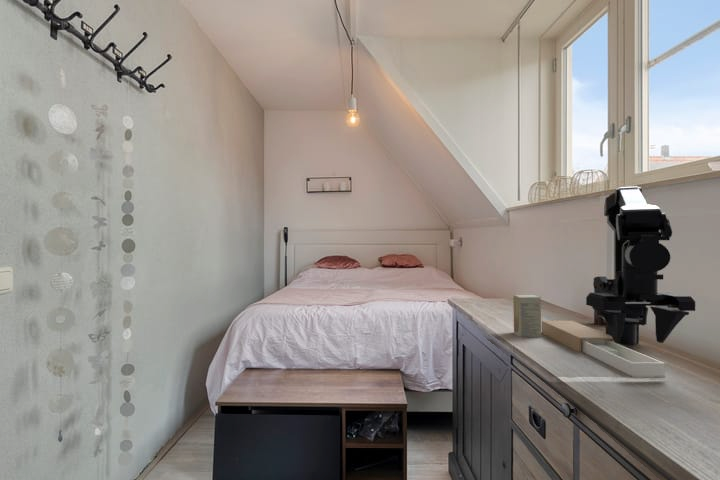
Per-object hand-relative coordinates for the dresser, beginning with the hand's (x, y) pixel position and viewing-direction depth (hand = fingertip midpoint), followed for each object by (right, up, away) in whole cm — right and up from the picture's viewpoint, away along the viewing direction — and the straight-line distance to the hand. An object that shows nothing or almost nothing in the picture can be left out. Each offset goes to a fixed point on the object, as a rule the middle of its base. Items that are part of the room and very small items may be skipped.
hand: (638, 342), depth 68 cm
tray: (0, -6, +6) cm, 9 cm away
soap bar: (0, -6, +10) cm, 11 cm away
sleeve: (0, -7, +20) cm, 21 cm away
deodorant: (+23, -7, +39) cm, 46 cm away
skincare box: (-10, -7, +26) cm, 28 cm away
